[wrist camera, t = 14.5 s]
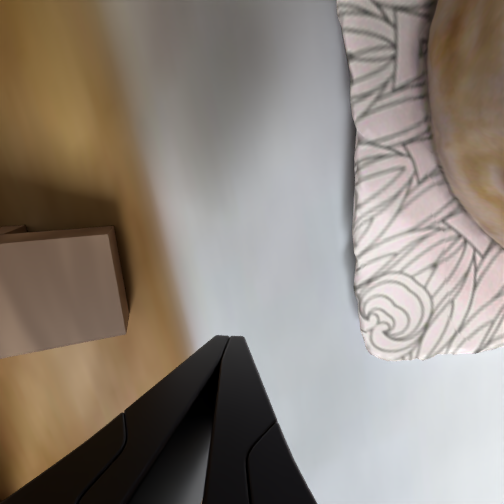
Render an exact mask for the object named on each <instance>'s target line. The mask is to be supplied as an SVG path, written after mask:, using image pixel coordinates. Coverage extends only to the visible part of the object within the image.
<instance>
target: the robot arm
mask: <svg viewBox="0 0 504 504" xmlns="http://www.w3.org/2000/svg"><path fill="white" fill-rule="evenodd" d="M202 498H203V500H202ZM201 502H202V504H317V502H316V500H315V498H314V497H313V495H312V493H311V491H310V489H309V488H308V486H307V484H306V482H305V480H304V478H303V476H302V474H301V472H300V470H299V468H298V466H297V464H296V463H295V461H294V458H293V456H292V454H291V452H290V449H289V447H288V445H287V442H286V440H285V438H284V435H283V433H282V430H281V428H280V425H279V424H278V421H277V418H276V416H275V413H274V411H273V408H272V406H271V403H270V401H269V398H268V396H267V393H266V390H265V388H264V385H263V383H262V380H261V378H260V375H259V373H258V370H257V368H256V365H255V363H254V360H253V358H252V355H251V353H250V350H249V348H248V345H247V343H246V340H245V338H244V337H243V336H231V337H229V336H222V335H216V336H214V337H213V338H212V339H211V340H210V341H208V342H207V343H206V344H205V345H203V346H202V347H201V348H200V349H199V350H197V351H196V352H195V353H194V354H193V355H191V356H190V357H189V358H188V359H186V360H185V361H184V362H183V363H182V364H180V365H179V366H178V367H177V368H175V369H174V370H173V371H172V372H171V373H169V374H168V375H167V376H166V377H164V378H163V379H162V380H161V381H160V382H158V383H157V384H156V385H155V386H154V387H152V388H151V389H150V390H149V391H147V392H146V393H145V394H144V395H143V396H141V397H140V398H139V399H138V400H136V401H135V402H134V403H133V404H132V405H130V406H129V407H128V408H127V409H126V410H125V411H124V413H120V414H119V415H118V416H117V417H116V418H114V419H113V420H112V421H111V422H110V423H108V424H107V425H106V426H105V427H103V428H102V429H101V430H99V431H98V432H97V433H96V434H94V435H93V436H92V437H91V438H89V439H88V440H87V441H85V442H84V443H83V444H81V445H80V446H79V447H77V448H76V449H75V450H73V451H72V452H71V453H69V454H68V455H66V456H65V457H64V458H62V459H61V460H60V461H58V462H57V463H56V464H54V465H53V466H51V467H50V468H49V469H47V470H46V471H44V472H43V473H41V474H40V475H39V476H37V477H36V478H34V479H33V480H32V481H30V482H29V483H27V484H26V485H25V486H23V487H22V488H20V489H19V490H17V491H16V492H15V493H13V494H12V495H10V496H9V497H8V498H6V499H5V500H3V501H2V502H1V503H0V504H201Z"/></svg>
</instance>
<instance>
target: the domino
mask: <svg viewBox="0 0 504 504" xmlns="http://www.w3.org/2000/svg"><path fill="white" fill-rule="evenodd" d="M128 319H129V310H128V304H127V299H126V293H125V287H124V281H123V276H122V270H121V264H120V259H119V253H118V247H117V242H116V236H115V230H114V226H104V227H92V228H79V229H67V230H54V231H41V232H29V233H16V234H4V235H0V359H1V358H6V357H11V356H17V355H22V354H27V353H32V352H37V351H42V350H47V349H53V348H58V347H63V346H68V345H73V344H78V343H83V342H89V341H94V340H99V339H104V338H109V337H114V336H119V335H125V334H126V332H127V326H128Z"/></svg>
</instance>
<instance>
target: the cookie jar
mask: <svg viewBox="0 0 504 504" xmlns="http://www.w3.org/2000/svg"><path fill="white" fill-rule="evenodd" d="M337 15H338V18H339V21H340V24H341V28H342V34H343V40H344V45H345V51H346V56H347V61H348V66H349V71H350V101H351V112H352V117H353V120H354V123H355V126H356V129H357V133H356V144H355V156H354V171H355V193H354V208H353V223H352V234H353V246H354V253H355V256H356V268H355V276H354V291H355V296H356V298H357V300H358V315H359V319H360V329H361V333H362V336H363V338H364V342H365V346H366V349H367V350H368V351H369V353H370V354H371V355H373V356H375V357H377V358H380V359H383V360H386V361H402V360H413V359H416V358H418V359H420V360H422V361H423V360H426V359H429V358H432V357H434V356H436V355H437V354H473V353H479V352H483V351H488V350H492V349H496V348H498V347H504V0H337Z"/></svg>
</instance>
